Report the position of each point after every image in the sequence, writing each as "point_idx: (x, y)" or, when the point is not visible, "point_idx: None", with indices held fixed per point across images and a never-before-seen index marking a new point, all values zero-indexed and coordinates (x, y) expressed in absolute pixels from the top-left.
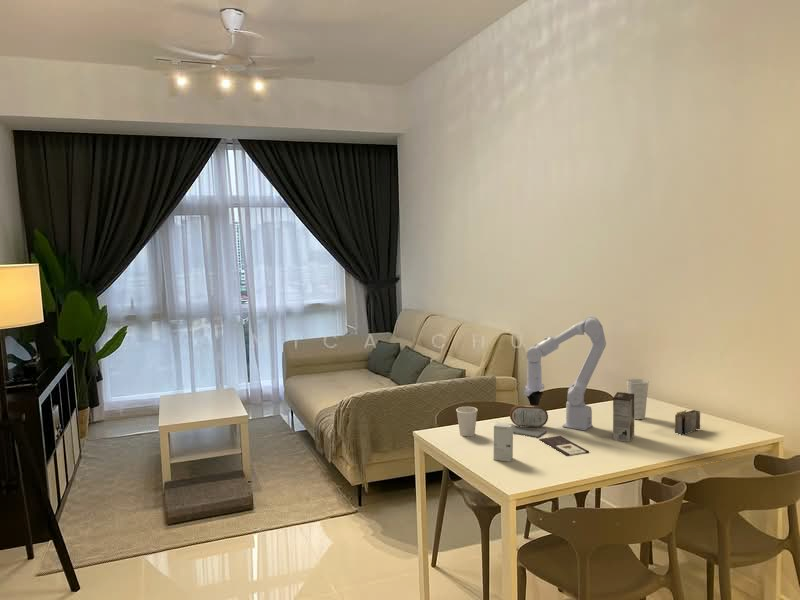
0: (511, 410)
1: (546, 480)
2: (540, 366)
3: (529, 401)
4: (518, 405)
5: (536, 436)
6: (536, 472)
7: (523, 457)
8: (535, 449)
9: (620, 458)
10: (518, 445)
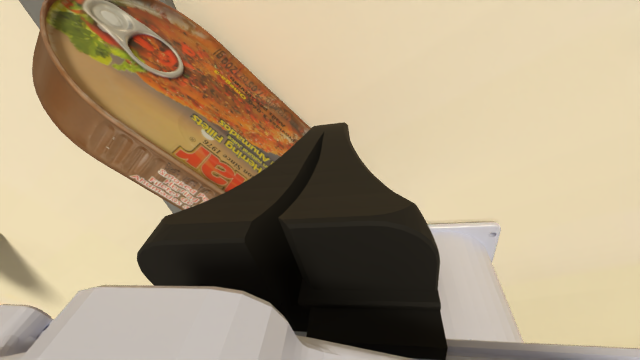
0: (39, 32)
1: (45, 310)
2: None
3: (266, 170)
4: (81, 115)
5: (173, 212)
6: (39, 292)
7: (39, 249)
8: (105, 248)
9: None
10: (61, 200)
